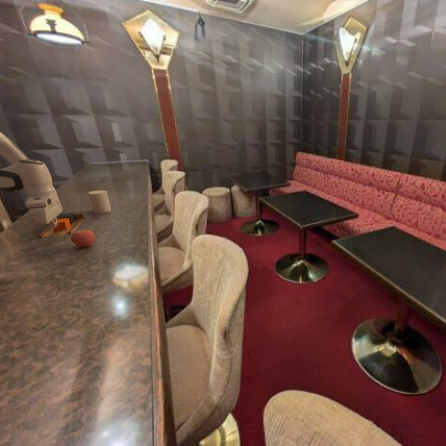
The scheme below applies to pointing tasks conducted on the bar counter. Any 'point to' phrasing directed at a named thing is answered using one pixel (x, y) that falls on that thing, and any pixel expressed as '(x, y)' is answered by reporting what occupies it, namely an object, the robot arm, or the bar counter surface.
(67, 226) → the orange block
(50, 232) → the jig
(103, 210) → the cup
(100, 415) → the bar counter surface
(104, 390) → the bar counter surface
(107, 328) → the bar counter surface
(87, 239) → the apple
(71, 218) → the black block
